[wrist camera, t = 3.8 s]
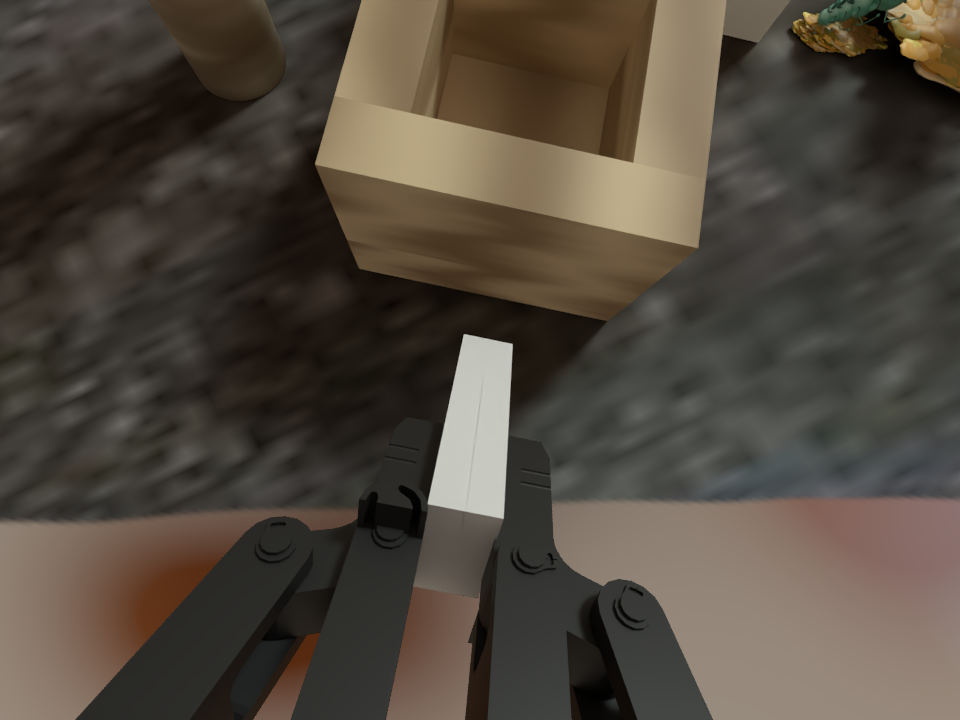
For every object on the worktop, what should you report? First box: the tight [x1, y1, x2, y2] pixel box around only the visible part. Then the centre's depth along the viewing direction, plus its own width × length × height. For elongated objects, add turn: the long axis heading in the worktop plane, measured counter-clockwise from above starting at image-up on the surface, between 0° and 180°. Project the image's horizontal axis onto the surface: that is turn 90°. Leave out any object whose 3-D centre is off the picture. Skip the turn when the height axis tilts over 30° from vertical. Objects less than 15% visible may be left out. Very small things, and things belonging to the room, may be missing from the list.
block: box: [315, 0, 726, 321], centre depth 19 cm, size 11×11×8 cm
